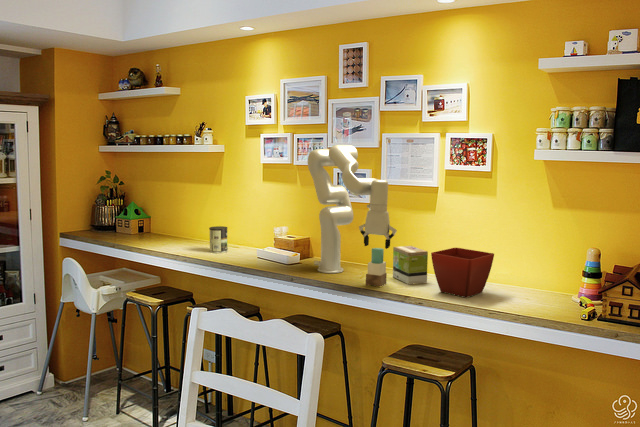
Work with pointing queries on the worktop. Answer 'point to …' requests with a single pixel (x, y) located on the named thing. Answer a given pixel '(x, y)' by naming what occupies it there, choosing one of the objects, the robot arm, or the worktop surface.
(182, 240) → the worktop surface
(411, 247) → the tea box
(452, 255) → the plant pot
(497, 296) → the worktop surface
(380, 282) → the walnut base block
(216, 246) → the coffee can
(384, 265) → the cream block
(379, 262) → the teal block
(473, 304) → the worktop surface
